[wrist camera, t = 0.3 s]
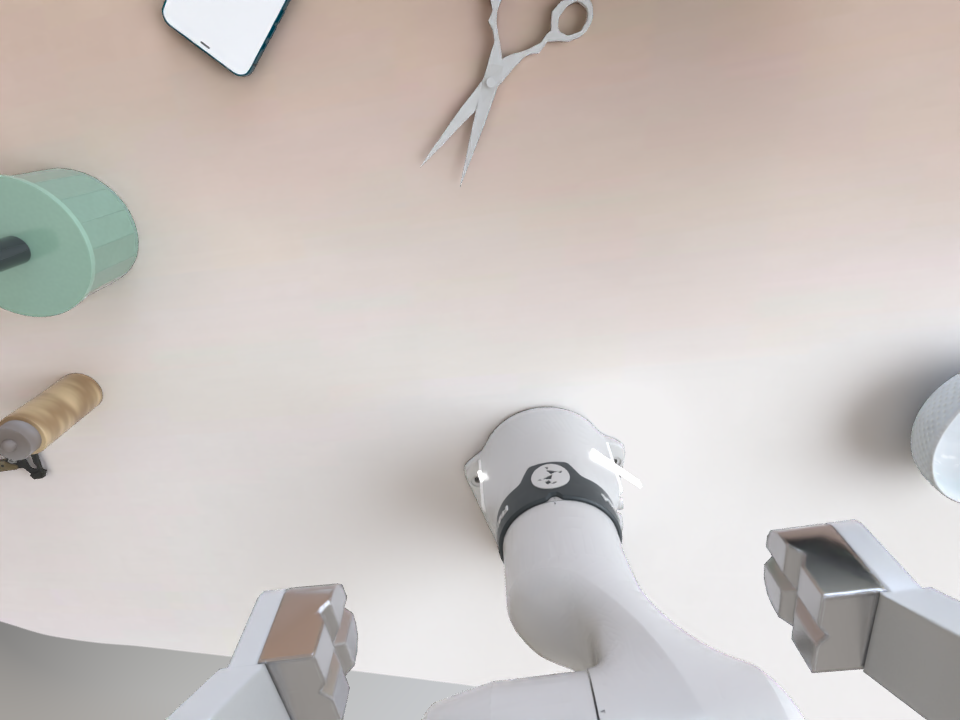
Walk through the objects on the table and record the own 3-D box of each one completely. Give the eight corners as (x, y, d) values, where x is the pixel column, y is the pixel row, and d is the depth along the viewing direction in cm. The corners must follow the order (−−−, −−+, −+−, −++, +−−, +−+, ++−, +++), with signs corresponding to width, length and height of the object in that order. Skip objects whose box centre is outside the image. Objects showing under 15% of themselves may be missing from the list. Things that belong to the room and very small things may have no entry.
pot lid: (123, 301, 50) (90, 321, 45) (-3, 321, 50) (-48, 342, 46) (59, 161, 45) (15, 168, 40) (-80, 185, 45) (-138, 195, 41)
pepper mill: (109, 405, 62) (39, 465, 52) (72, 410, 62) (-6, 471, 52) (91, 370, 60) (15, 425, 50) (53, 376, 60) (-31, 432, 50)
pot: (156, 275, 56) (113, 300, 49) (51, 292, 57) (-6, 319, 50) (108, 158, 51) (52, 168, 44) (-7, 178, 52) (-79, 191, 45)
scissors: (610, -13, 45) (489, 208, 52) (608, -11, 46) (489, 206, 53) (497, -92, 43) (386, 150, 50) (496, -89, 44) (388, 149, 51)
